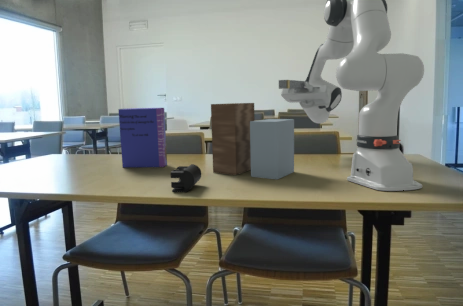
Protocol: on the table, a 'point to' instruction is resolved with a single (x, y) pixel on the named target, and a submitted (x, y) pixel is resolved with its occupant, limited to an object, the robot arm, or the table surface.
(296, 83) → the grey yellow-banded bar
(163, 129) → the blue book
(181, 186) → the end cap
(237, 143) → the tall walnut stand
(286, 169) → the blue-grey rectangular block
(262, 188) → the table surface
